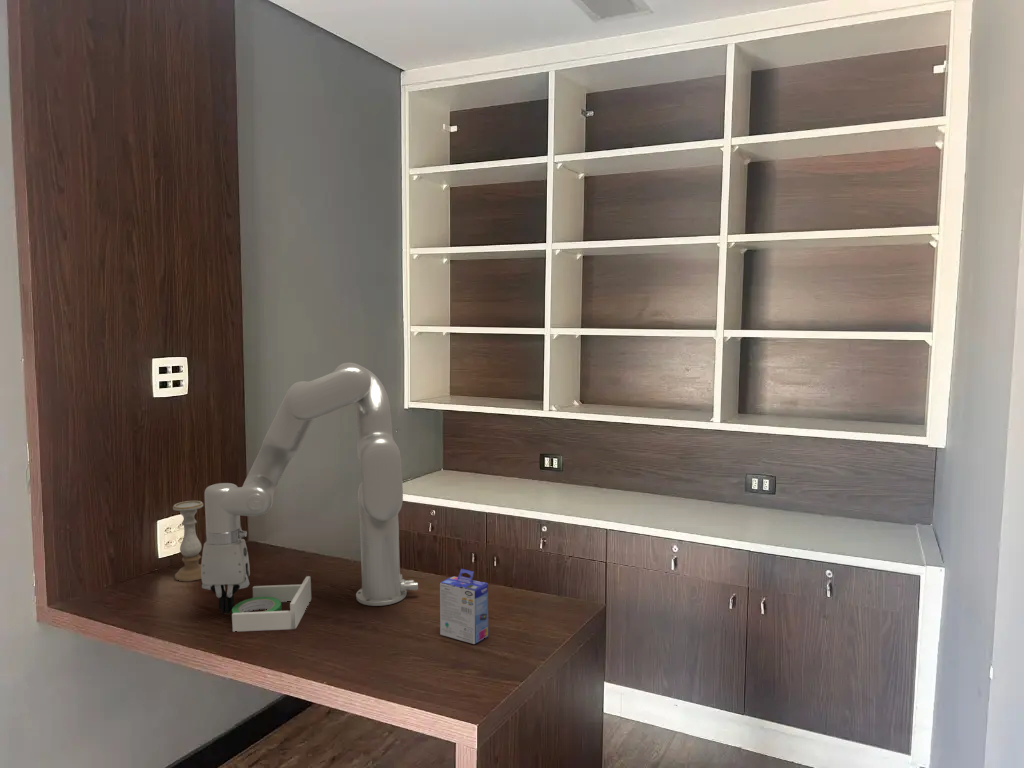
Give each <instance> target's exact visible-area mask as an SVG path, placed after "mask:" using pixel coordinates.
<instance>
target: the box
mask: <svg viewBox="0 0 1024 768" xmlns="http://www.w3.org/2000/svg"><path fill="white" fill-rule="evenodd" d="M311 579H312V578H311V576H309V575H308V576H307V575H306V576H305V578H304V579H303V581H302V583H301V584H276V585H254V586H252V598H256V597H273V598H276V599H278V600H280V601H281V603H288V602H287V601H291V602H289V609H290V610H281V611H267V612H262V611H250V612H242V613H233V614H232V613H231V622H232V624H231V625H232V632H235V631H237V632H254V631H255V632H256V631H281V630H282V631H283V630H296V629H297V627H298V625H299V624H300V622H301V620H302V618H303V616H304V614H305V612H306V611H307V609H308V607H309V605H310V603H309V602H311V601H312V581H311ZM307 606H308V607H307ZM306 608H307V609H306ZM305 610H306V611H305Z"/></svg>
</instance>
